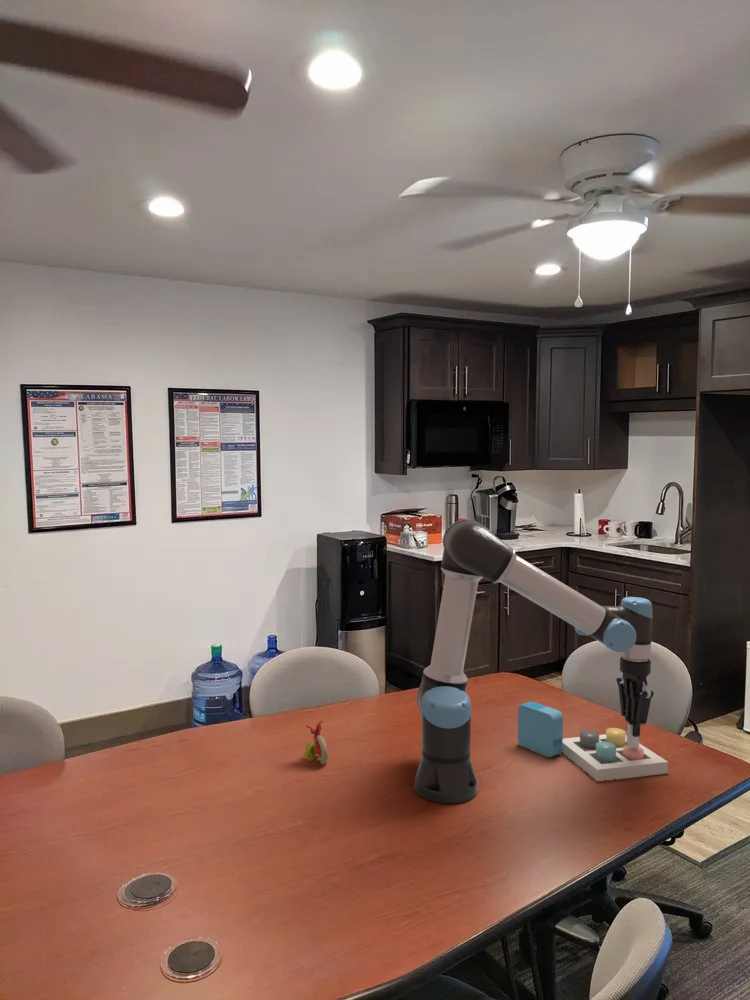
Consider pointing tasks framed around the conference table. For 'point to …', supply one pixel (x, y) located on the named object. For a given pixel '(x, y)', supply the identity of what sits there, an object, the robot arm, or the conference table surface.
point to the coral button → (633, 753)
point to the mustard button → (616, 736)
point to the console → (616, 768)
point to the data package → (540, 728)
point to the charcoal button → (589, 739)
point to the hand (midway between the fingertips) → (632, 746)
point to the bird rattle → (317, 746)
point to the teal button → (606, 751)
